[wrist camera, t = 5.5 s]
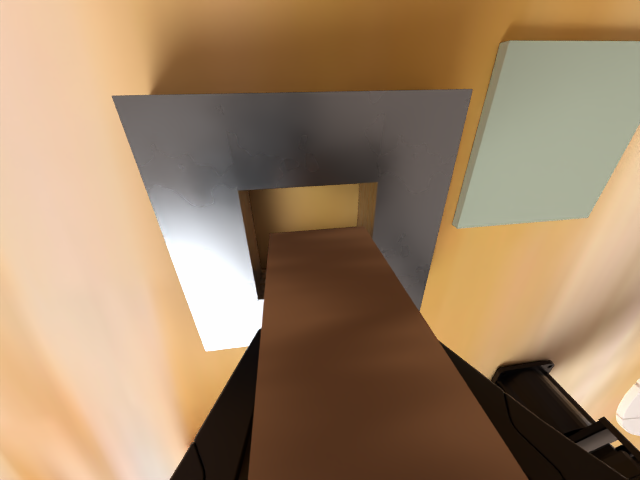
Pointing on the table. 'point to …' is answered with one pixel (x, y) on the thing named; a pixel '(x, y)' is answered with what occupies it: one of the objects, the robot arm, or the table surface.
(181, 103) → the socket block
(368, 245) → the walnut peg
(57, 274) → the table surface
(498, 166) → the sage mat
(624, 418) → the lazy susan
